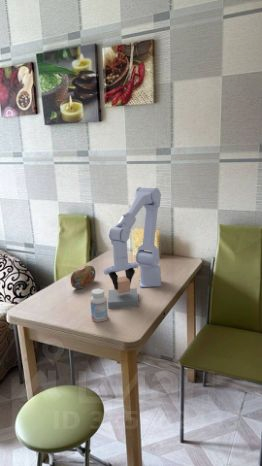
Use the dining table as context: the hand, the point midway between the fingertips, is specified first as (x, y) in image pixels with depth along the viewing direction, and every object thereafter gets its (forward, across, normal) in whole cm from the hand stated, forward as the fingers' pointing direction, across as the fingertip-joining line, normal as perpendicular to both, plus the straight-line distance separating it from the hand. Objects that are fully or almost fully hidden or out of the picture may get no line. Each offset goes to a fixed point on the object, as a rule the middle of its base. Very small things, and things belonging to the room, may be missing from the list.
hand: (122, 287), depth 146 cm
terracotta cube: (+2, 0, 0) cm, 2 cm away
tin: (+6, +9, -25) cm, 27 cm away
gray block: (+6, 0, 0) cm, 6 cm away
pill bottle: (+6, +14, +9) cm, 18 cm away
